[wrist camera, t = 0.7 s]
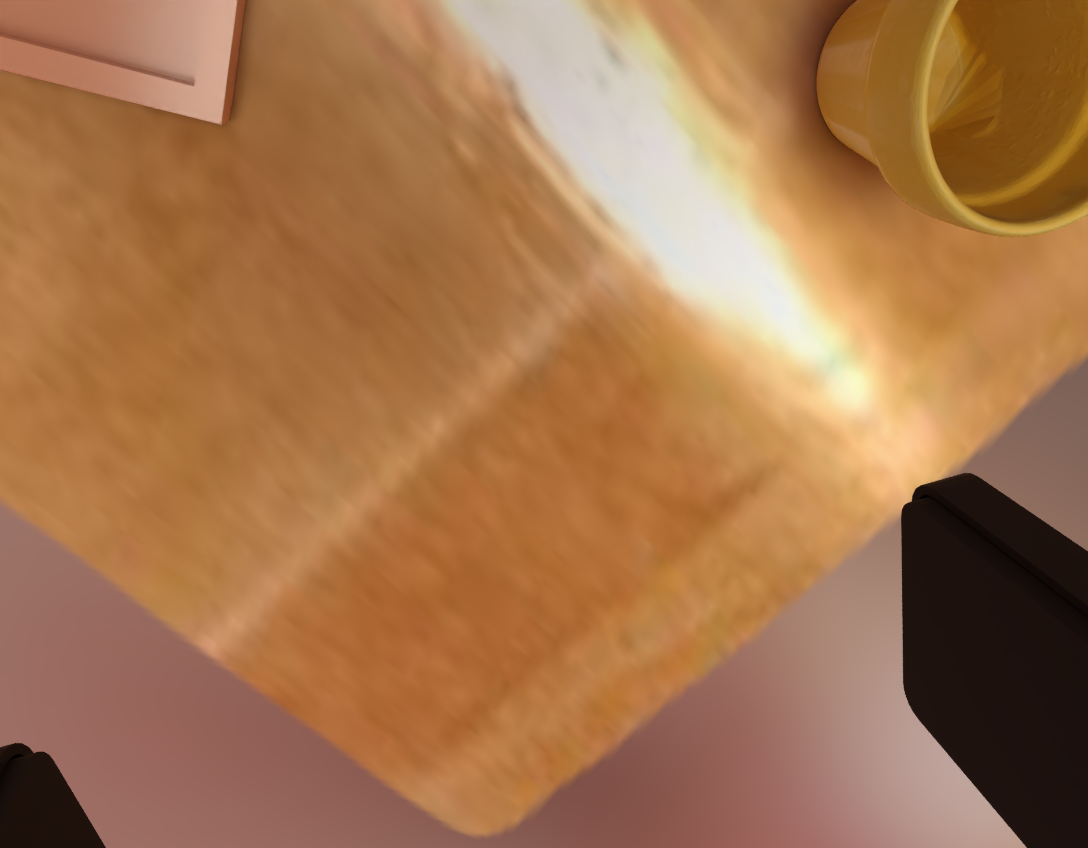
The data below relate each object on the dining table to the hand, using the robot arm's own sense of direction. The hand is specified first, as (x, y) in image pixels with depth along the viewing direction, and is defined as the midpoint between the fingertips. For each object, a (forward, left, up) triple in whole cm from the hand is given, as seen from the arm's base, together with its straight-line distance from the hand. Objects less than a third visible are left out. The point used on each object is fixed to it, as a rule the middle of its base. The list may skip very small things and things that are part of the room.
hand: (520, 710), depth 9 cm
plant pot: (-11, +19, -28) cm, 36 cm away
